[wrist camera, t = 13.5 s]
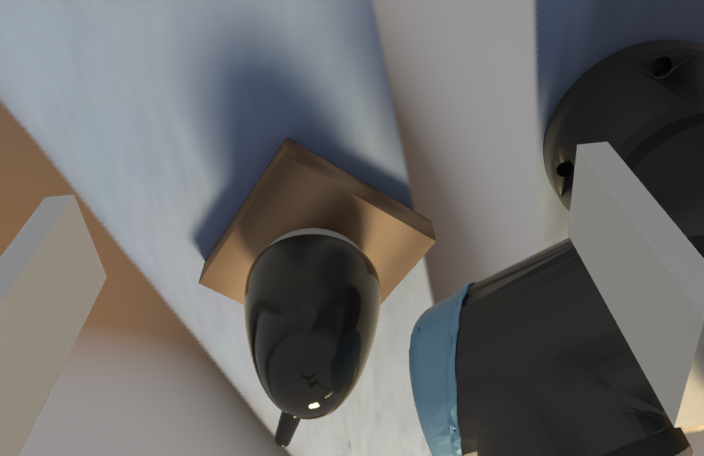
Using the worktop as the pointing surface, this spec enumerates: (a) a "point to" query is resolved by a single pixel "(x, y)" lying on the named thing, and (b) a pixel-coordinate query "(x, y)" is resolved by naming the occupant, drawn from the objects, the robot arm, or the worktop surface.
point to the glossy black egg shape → (310, 322)
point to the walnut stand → (317, 221)
